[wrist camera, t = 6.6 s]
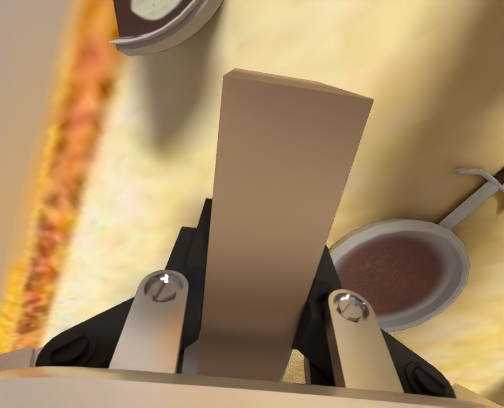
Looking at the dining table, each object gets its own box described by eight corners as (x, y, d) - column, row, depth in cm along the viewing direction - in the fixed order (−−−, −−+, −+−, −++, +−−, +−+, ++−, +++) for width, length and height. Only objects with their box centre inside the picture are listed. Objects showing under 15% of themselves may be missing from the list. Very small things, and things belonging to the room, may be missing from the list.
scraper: (177, 58, 9) (115, 57, 5) (370, 90, 10) (467, 114, 6) (172, 364, 18) (146, 466, 13) (279, 372, 18) (289, 473, 14)
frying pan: (617, 191, 25) (390, 353, 36) (582, 178, 27) (381, 333, 39) (504, 82, 20) (285, 306, 32) (476, 79, 23) (283, 287, 34)
